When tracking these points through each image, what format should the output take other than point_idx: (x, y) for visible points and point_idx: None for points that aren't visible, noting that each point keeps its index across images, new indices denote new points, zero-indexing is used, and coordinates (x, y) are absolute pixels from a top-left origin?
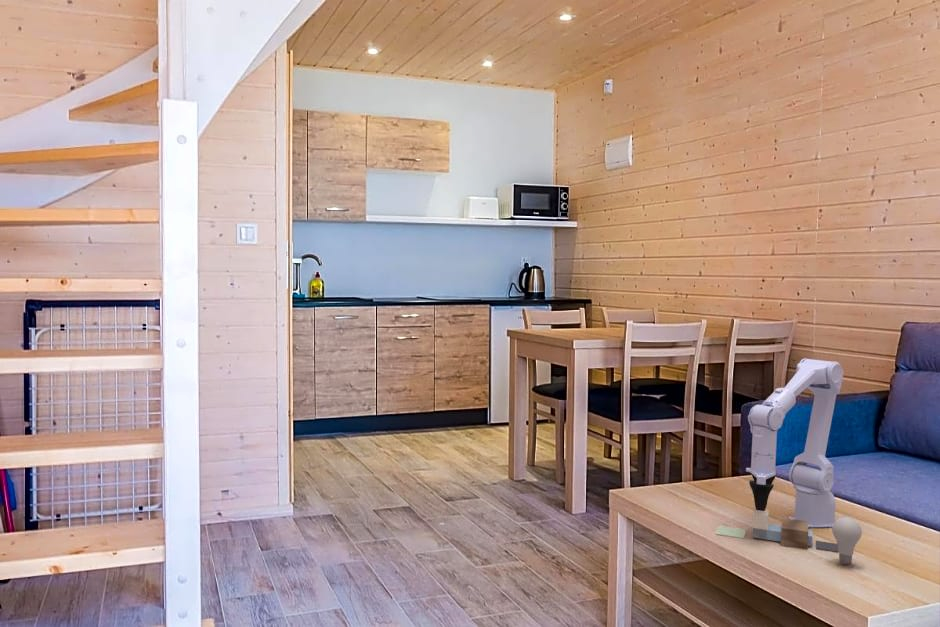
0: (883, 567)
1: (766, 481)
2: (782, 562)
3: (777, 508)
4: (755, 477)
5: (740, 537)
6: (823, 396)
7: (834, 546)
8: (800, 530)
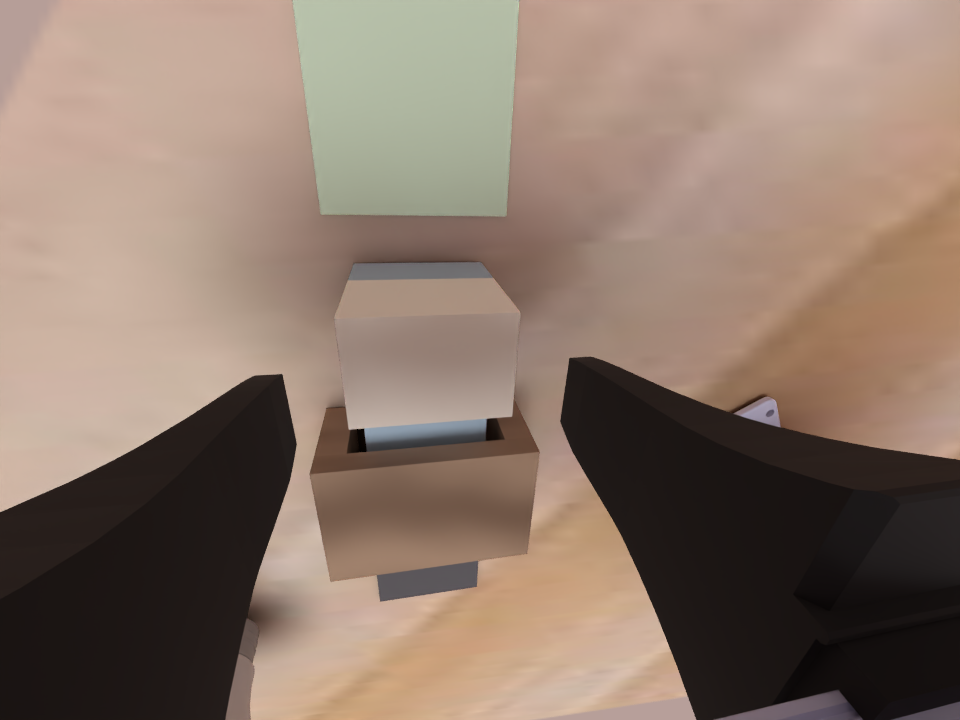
0: (302, 684)
1: (695, 606)
2: (29, 443)
3: (914, 340)
4: (790, 523)
5: (317, 187)
6: None
7: (435, 572)
8: (329, 553)
